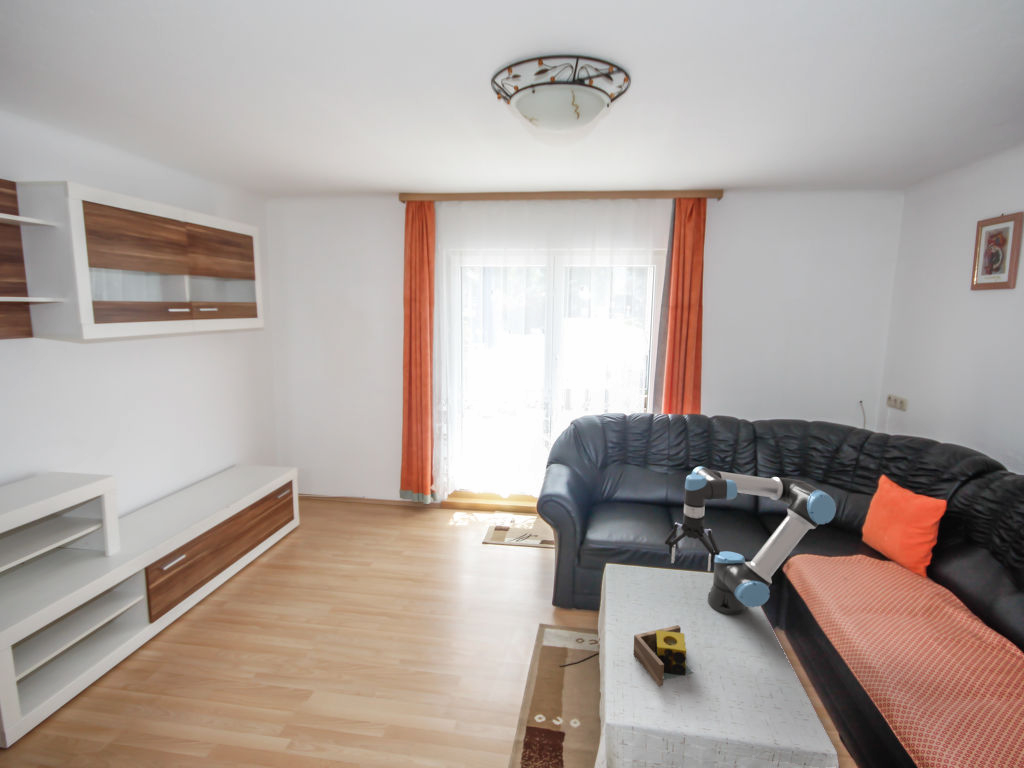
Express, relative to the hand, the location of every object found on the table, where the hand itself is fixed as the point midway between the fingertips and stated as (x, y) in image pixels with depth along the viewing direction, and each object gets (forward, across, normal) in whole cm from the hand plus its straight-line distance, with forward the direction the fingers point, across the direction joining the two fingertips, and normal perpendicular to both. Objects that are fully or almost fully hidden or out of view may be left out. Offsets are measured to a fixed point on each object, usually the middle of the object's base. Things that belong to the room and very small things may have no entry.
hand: (690, 565), depth 200 cm
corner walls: (+27, -2, -25) cm, 36 cm away
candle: (+27, -2, -26) cm, 37 cm away
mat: (+27, -2, -26) cm, 37 cm away
